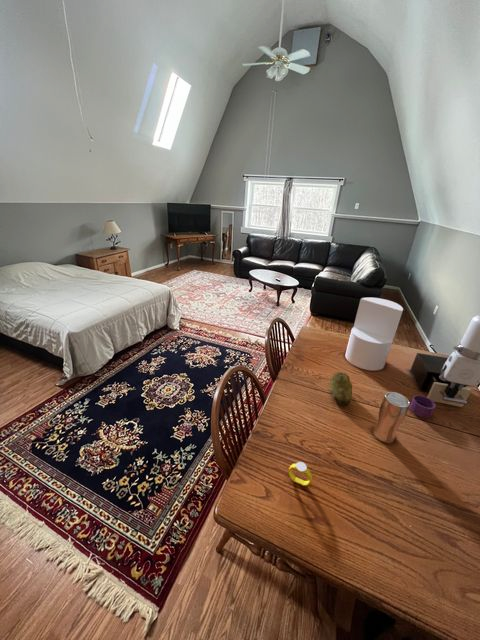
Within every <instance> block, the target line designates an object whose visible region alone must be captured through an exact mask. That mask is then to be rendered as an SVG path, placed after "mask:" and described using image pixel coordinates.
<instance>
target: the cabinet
mask: <svg viewBox="0 0 480 640" xmlns="http://www.w3.org/2000/svg"><path fill="white" fill-rule="evenodd" d="M448 358H449V357H444V356H438V355H432V354H427V353H420V352H416V354H415V357H414V359H413V361H412V365H411V368H410V370H409V373H410V374H411V376H412V378H413V380H414V382H415V384H416V385H417V388H418V391H419V392H424V393H426V391H425V389H424V386H425V383H426V381H427V379H428V376H429V374H436V375H440V374H441V370H442V368H443V366H444V364H445V362H446V361H447V359H448Z"/></svg>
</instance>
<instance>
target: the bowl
mask: <svg viewBox="0 0 480 640" xmlns="http://www.w3.org/2000/svg"><path fill="white" fill-rule="evenodd" d="M427 397H428V396H425V395H422V394H421V395H420V394H415V395H413V397H412V399H411V401H410V405H409V407H408V408H409V410H410V411H411V412H412V414H414V415H416V416H417V417H420V418H423V419H425V418H427V419H428V418H431V417H432V415H433V413H434V411H435V410H436V403H435V401H432V400H431V399H429V398H427Z"/></svg>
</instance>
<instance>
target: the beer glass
mask: <svg viewBox="0 0 480 640" xmlns="http://www.w3.org/2000/svg"><path fill="white" fill-rule="evenodd" d="M410 404H411V401H410V400H409V399H408V398H407V397H406V396H404V395H403V394H401V393H399V392H395V391H388V392H386V393H385V394H384V397H383V398H382V401H381V404H380V406H379V409H378V418H377V419H378V420H377V423H376V425H375V427H374V428H373V431H372V432H373V436H374V437H375V439H377V440H379V441H380V442H382V443H386V444H391V443H393V442H394V441H395V437H396V432H397V430H398V429H399V428H400V426H401V425H402V423H403V422H404V420H405V419H406V416H407V414H408V411H409V408H410V407H409V406H410Z"/></svg>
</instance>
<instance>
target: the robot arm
mask: <svg viewBox="0 0 480 640" xmlns="http://www.w3.org/2000/svg"><path fill="white" fill-rule="evenodd" d="M452 348H453V352H452V353H450V355H449V356H448V357H447V358H448V359H447V361H446V362H445V364H444V366H443V368H442V370H441V374H440V376H439V378H440V380H443V381H445V382H447V384H448V385H447V387H446V389H445V393H446V395H447V397H451V398H454V397H455V396H456V395H457V393H458V391H459V390H461V389H462V388H464V387H465V388H468V387H477V386H479V384H480V315H474V317H472V318H471V321H470V323H469V324H468V327H467V328H466V330H465V332H464V334H463V337H462V339H461V340H460V343H459V344H458V345H454V346H453V347H452Z"/></svg>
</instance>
